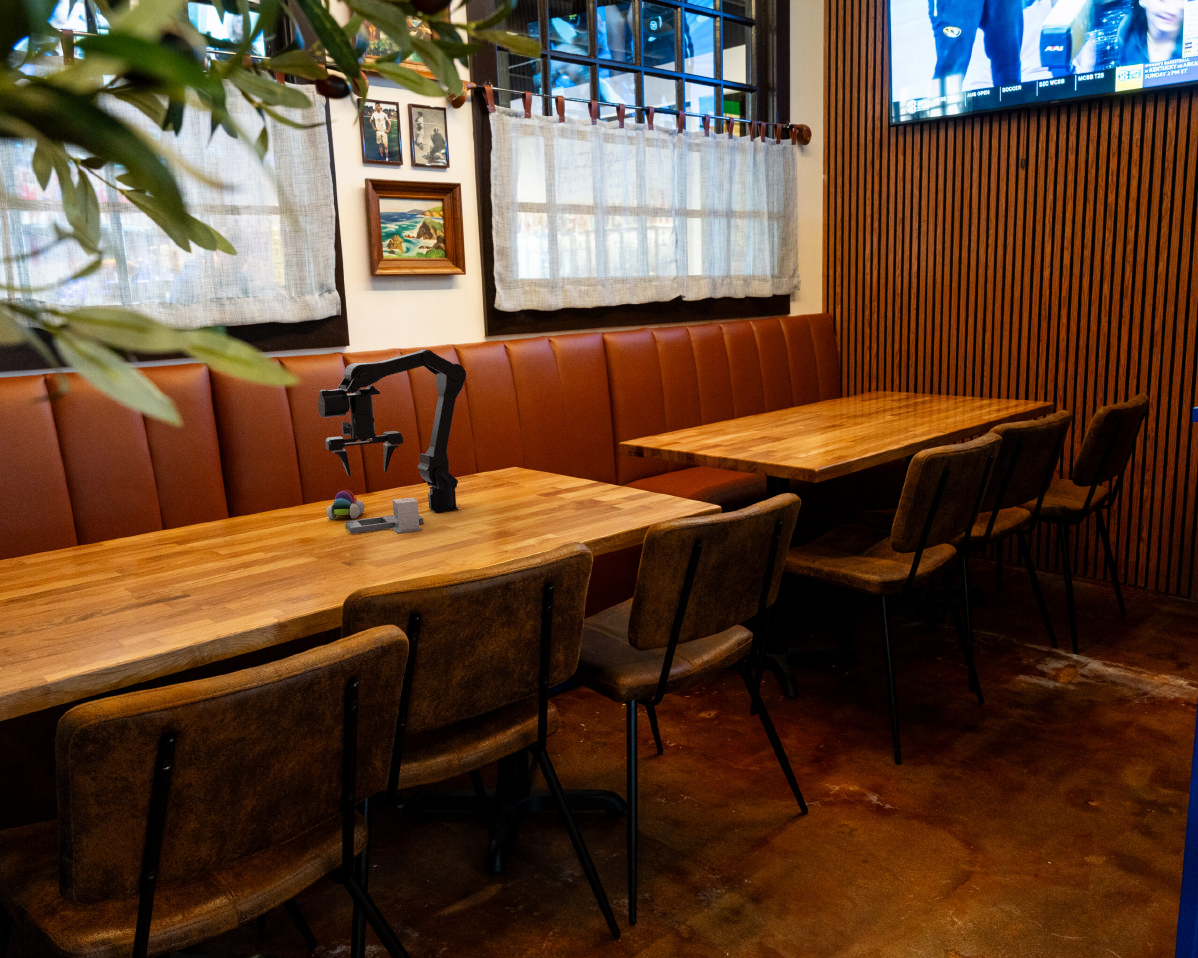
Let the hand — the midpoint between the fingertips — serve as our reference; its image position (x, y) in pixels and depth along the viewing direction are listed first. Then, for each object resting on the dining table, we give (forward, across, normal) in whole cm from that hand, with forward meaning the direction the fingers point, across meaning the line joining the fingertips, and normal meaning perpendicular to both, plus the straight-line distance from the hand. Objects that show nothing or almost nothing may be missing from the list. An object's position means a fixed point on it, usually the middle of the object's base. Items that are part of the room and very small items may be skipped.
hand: (367, 474), depth 252 cm
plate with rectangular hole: (+12, -2, +6) cm, 14 cm away
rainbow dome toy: (+13, +5, -10) cm, 17 cm away
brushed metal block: (+12, -6, +14) cm, 19 cm away
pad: (+12, -6, +14) cm, 20 cm away
